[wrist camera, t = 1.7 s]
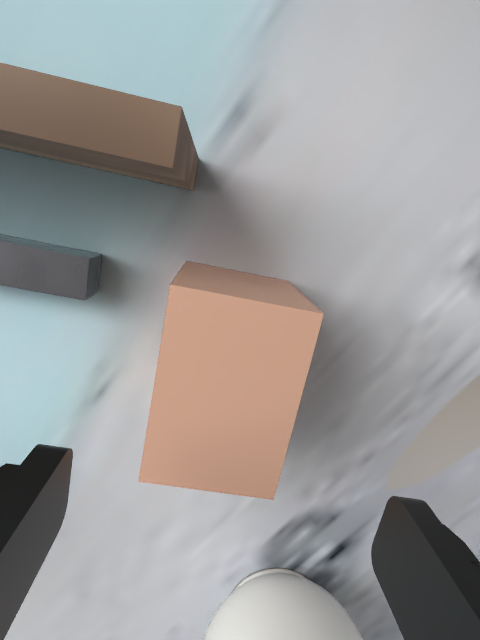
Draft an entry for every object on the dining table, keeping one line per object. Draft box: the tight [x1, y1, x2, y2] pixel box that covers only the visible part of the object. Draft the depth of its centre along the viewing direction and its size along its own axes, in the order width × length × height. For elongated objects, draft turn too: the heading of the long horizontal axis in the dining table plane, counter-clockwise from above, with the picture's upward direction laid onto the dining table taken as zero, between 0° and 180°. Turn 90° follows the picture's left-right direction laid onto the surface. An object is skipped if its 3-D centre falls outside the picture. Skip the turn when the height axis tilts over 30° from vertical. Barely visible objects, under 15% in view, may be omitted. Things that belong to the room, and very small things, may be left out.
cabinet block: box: [138, 261, 324, 500], centre depth 18 cm, size 8×6×7 cm
